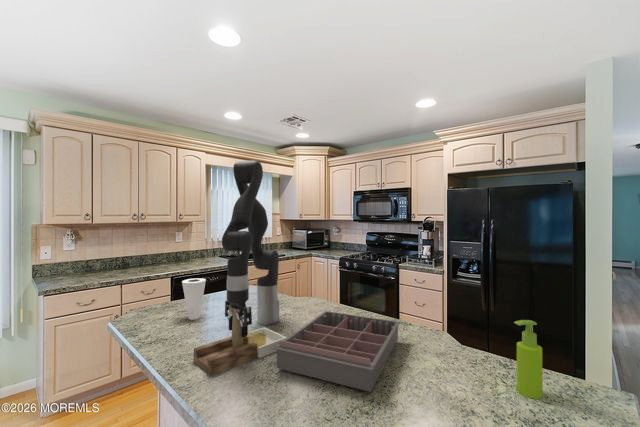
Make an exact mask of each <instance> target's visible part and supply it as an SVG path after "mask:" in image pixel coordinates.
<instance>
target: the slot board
mask: <svg viewBox="0 0 640 427" xmlns="http://www.w3.org/2000/svg"><path fill="white" fill-rule="evenodd" d="M254 359H258V351H257V344H256V343H254V342H253V343H250V344H247V345H244V346H242V347H239V348H236V349H233V344H232V335H231V336H229V337H226V338H222V339H220V340H215V341H213V342H210V343H206V344H203V345H200V346H197V347H193V361H192V362H193V363H195V365H197V366H198V367H199V368H201V369H202V370H203V371H204V372H206V374H208V375H209V376H210V377H211V376H215V375H217V374H220V373H222V372H224V371H226V370H229V369H232V368H234V367H237V366H239V365H243V364H244V363H247V362H249V361H251V360H254Z"/></svg>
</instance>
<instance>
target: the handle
mask: <svg viewBox="0 0 640 427" xmlns="http://www.w3.org/2000/svg"><path fill="white" fill-rule="evenodd" d="M236 310H237V312H238V313H239V309H236ZM229 311H230V312H231V313H232V314H233V321H232V330H231V336H232V344H233V349H236V348H239V347H242V344H243V337H241V323H240V321H238V319H237V316H236V312H235V309H234V307H233V308H231V306H229V310H228V312H229ZM242 312H243V311H242ZM241 317H243V316H241Z"/></svg>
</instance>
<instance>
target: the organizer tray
mask: <svg viewBox="0 0 640 427" xmlns="http://www.w3.org/2000/svg"><path fill="white" fill-rule="evenodd" d="M400 324H401V322H400V321H395V320H389V319H388V320H387V319H381V318H375V317H369V316H368V317H367V316H361V315H357V314H356V315H355V314H348V313H343V312H342V313H341V312H335V311H330V310H329V311H328V310H325V311H324V312H322V313H320V314H319V315H318V316H316V317H315V318H313V319H312V320H311V321H309V322H307V323H306V324H305V325H304V326H302V327H301V328H299V330H297V331H295V332H294V333H292V334H291V335H290V336H288V337H287V339H286V340H284V341H281V340H280V341H279V345H277V346H276V347H274V349H277V351H276V369H279V370H284V371H288V372H291V373H295V374H300V375H304V376H306V377H307V376H308V377H311V378H315V379H318V380H322V381H327V382H331V383H335V384H339V385H343V386H346V387H350V388H355V389H358V390H362V391H366V392H370V393H371V392H372V390H373V389H374V386H375V384H376V383H377V381H378V380H379V377H380V375H381V373H382V371H383V369H384V367H385V365H386V364H387V361H388V360H389V357H390V355H391V353H392V352H393V350H394V348H395V345H396V343H397V342H398V340H399V326H400Z"/></svg>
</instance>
